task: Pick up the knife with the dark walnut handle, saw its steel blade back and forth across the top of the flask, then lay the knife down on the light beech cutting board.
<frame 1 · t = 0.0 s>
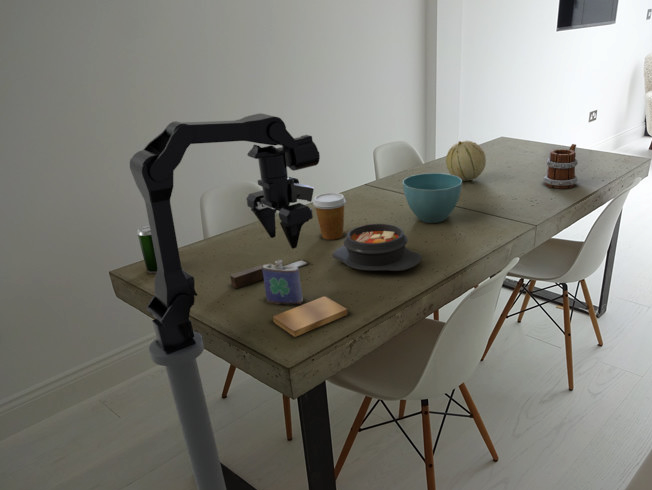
hand: (283, 242, 136), 15 cm above the table, tool pointing down, fingers open, 9 cm apart
cutting board: (310, 318, 135), on the table
knife: (269, 275, 156), on the table
disposable coffee cup: (332, 236, 180), on the table
beer can: (157, 270, 162), on the table
mug: (561, 183, 218), on the table
cantaloupe: (465, 180, 226), on the table
casserole: (377, 263, 161), on the table
teal bowl: (432, 219, 190), on the table
flask: (284, 302, 143), on the table
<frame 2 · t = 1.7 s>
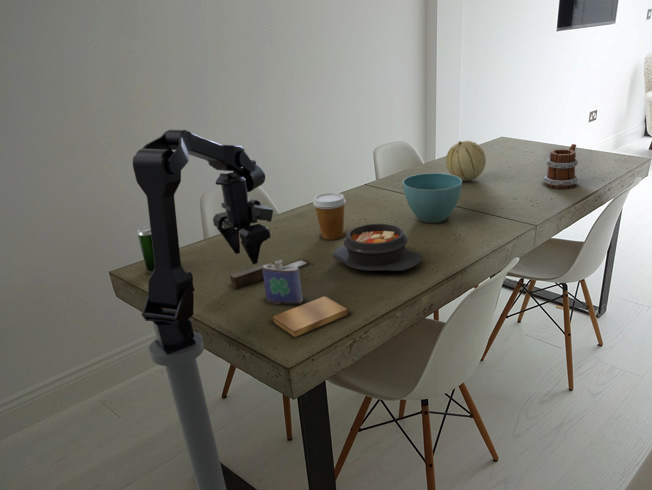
hand: (246, 258, 150), 7 cm above the table, tool pointing down, fingers open, 9 cm apart
nothing on the table moved.
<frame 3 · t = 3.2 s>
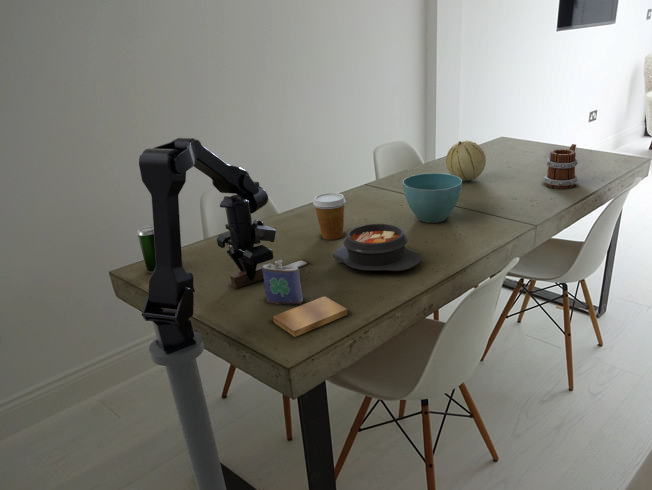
hand: (249, 278, 153), 1 cm above the table, tool pointing down, fingers closed on knife, 2 cm apart
knife: (269, 275, 156), on the table, touching gripper
everything else where it was.
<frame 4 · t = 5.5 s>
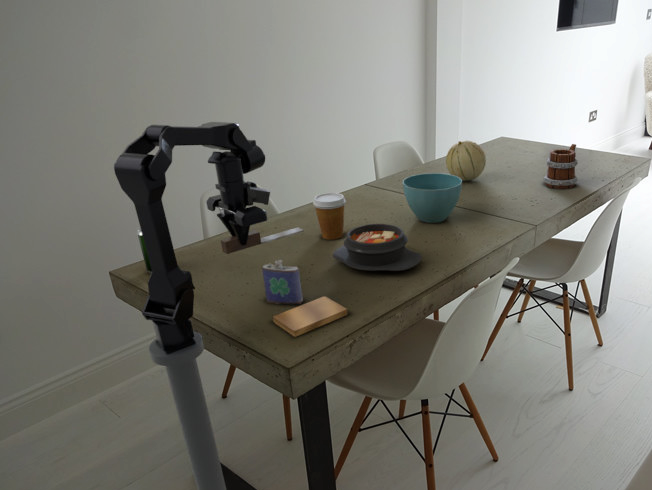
hand: (241, 243, 142), 13 cm above the table, tool pointing down, fingers closed on knife, 2 cm apart
knife: (262, 241, 146), point 12 cm above the table, touching gripper
everything else where it was.
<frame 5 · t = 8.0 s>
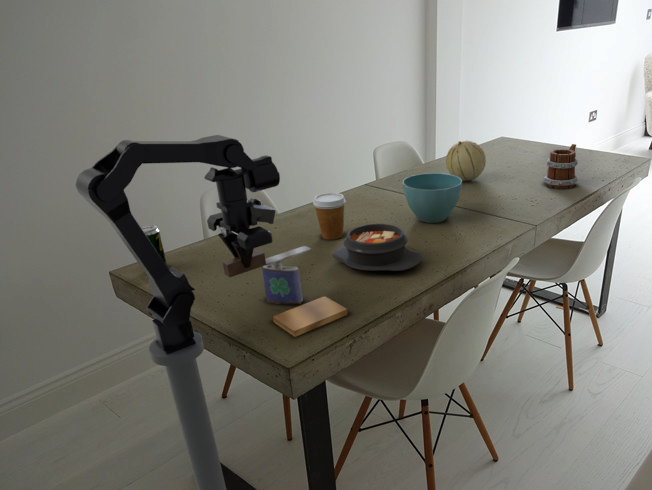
hand: (244, 265, 132), 12 cm above the table, tool pointing down, fingers closed on knife, 2 cm apart
knife: (267, 262, 136), point 11 cm above the table, touching gripper
everything else where it was.
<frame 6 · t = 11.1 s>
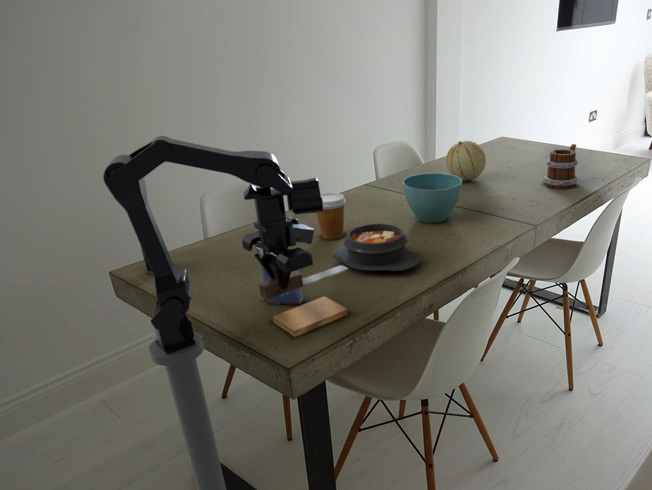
hand: (281, 287, 127), 10 cm above the table, tool pointing down, fingers closed on knife, 2 cm apart
knife: (304, 283, 130), point 9 cm above the table, touching gripper
everything else where it was.
when the fingers open (2 cm above the table, at t = 13.1 s): knife stays where it is, resting on cutting board.
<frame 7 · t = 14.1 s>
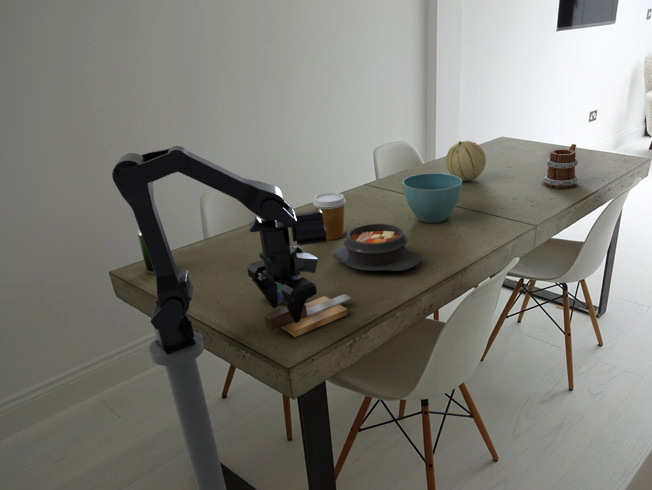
hand: (286, 314, 130), 3 cm above the table, tool pointing down, fingers open, 9 cm apart
knife: (308, 313, 134), point 1 cm above the table, touching cutting board
everything else where it was.
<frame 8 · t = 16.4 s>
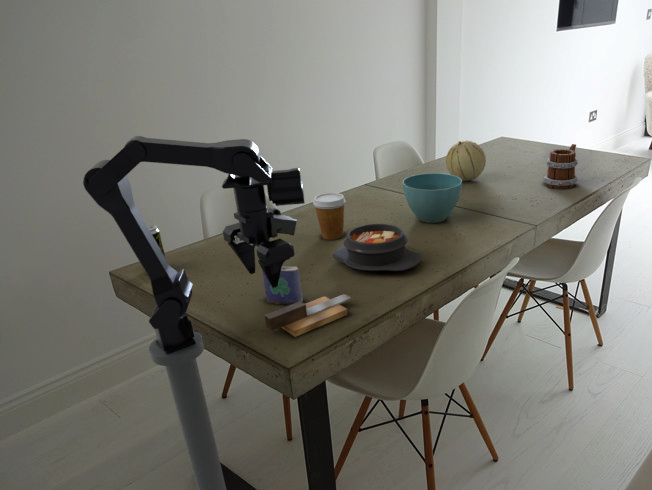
hand: (263, 280, 123), 13 cm above the table, tool pointing down, fingers open, 9 cm apart
nothing on the table moved.
at the end: knife inside the target area on the cutting board (0.5 cm from its centre), point 1.5 cm above the cutting board's base; flask tilted 0°; flask moved 0.2 cm from its start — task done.
